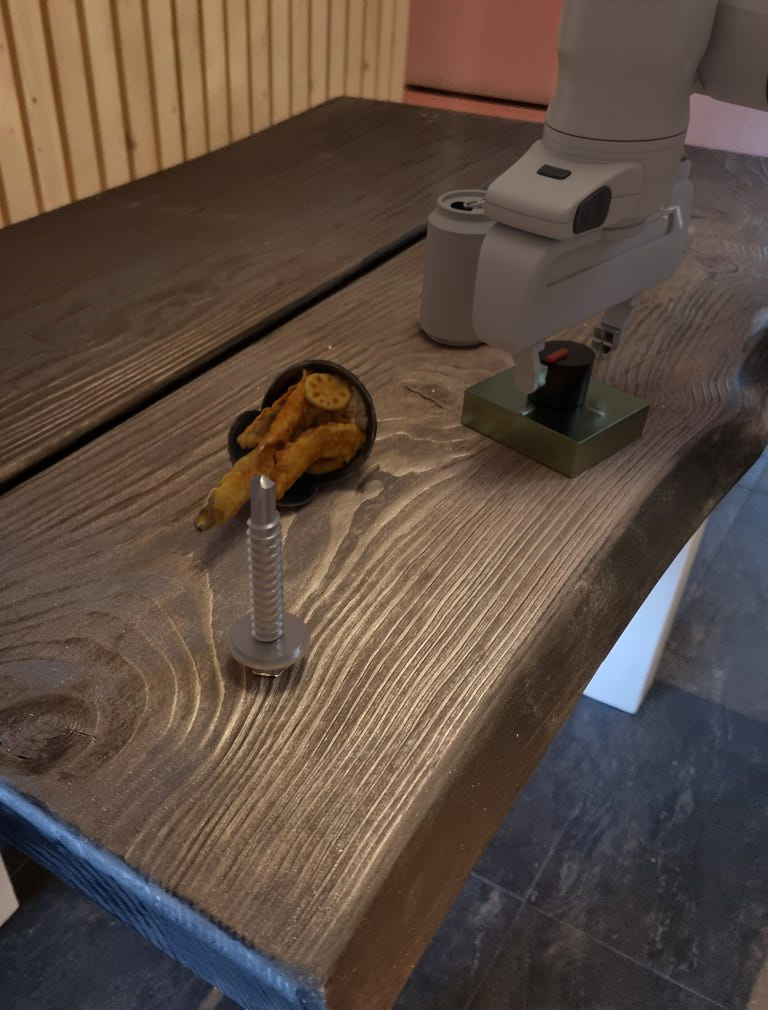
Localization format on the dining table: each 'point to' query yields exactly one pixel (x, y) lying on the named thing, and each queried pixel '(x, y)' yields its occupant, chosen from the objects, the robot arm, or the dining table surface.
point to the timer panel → (555, 422)
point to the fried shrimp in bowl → (296, 439)
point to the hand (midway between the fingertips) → (568, 368)
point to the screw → (266, 594)
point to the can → (453, 266)
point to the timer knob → (565, 374)
